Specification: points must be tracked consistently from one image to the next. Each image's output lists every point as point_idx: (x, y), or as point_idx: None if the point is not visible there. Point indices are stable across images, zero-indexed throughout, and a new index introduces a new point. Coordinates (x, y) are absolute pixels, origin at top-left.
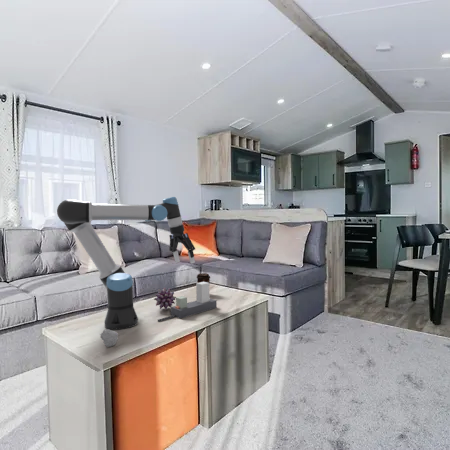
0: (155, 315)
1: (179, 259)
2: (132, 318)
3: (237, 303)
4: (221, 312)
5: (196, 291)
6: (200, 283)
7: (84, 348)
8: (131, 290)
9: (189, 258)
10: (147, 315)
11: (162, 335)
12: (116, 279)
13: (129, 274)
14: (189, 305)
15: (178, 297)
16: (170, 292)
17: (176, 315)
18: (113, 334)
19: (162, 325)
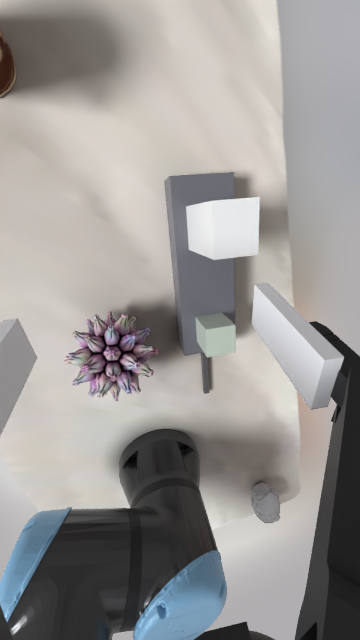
0: (152, 380)
1: (7, 335)
2: (196, 458)
3: (239, 49)
4: (273, 200)
5: (201, 254)
6: (235, 244)
7: (235, 516)
8: (206, 533)
9: (277, 356)
10: (136, 398)
11: (285, 406)
12: (210, 624)
13: (179, 603)
14: (212, 297)
15: (213, 349)
16: (109, 340)
17: None
18: (279, 504)
19: (236, 389)
